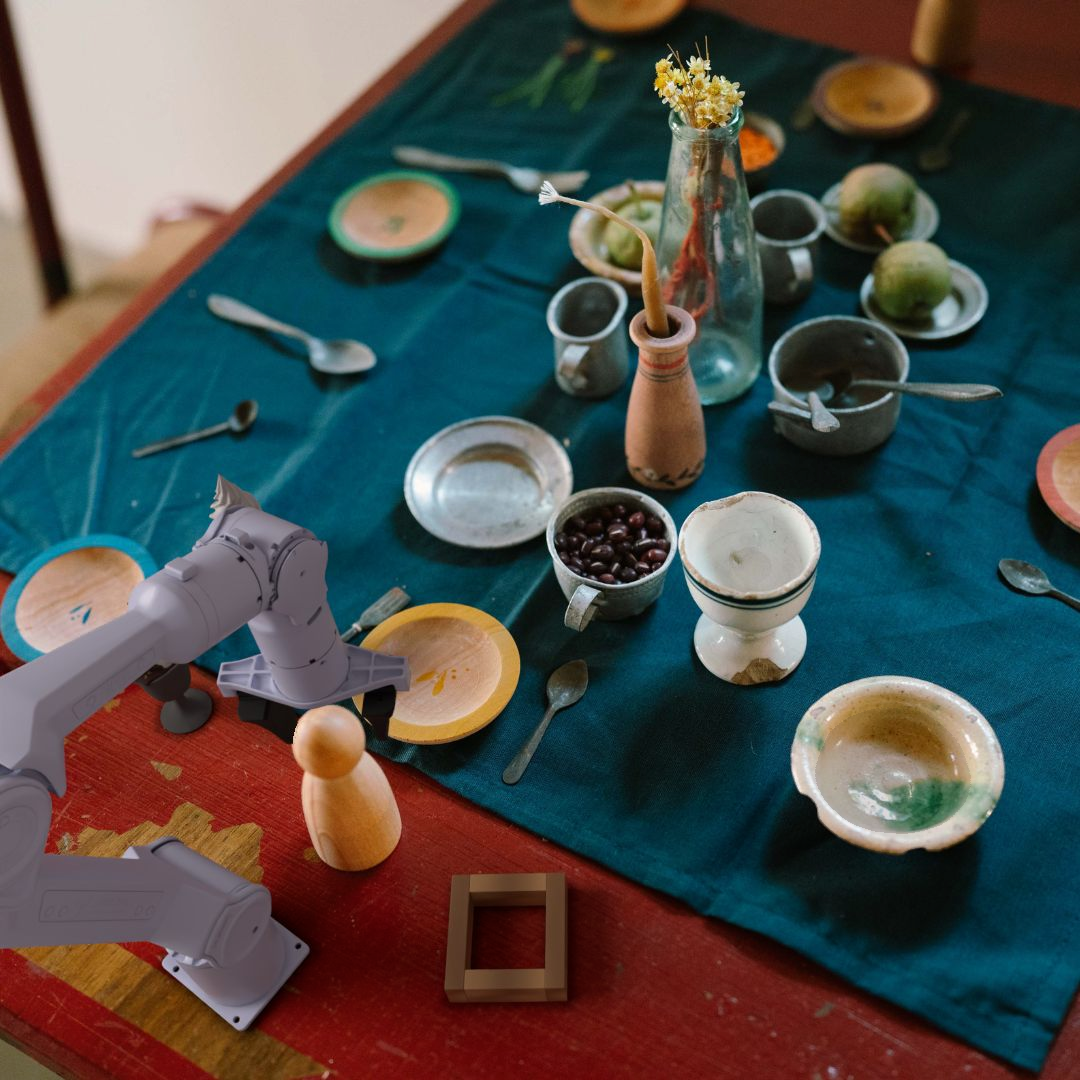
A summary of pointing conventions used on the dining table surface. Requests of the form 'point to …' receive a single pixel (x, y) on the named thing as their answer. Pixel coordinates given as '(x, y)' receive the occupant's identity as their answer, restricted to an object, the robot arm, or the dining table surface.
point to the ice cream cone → (231, 497)
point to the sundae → (176, 696)
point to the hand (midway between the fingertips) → (338, 732)
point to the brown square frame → (506, 981)
